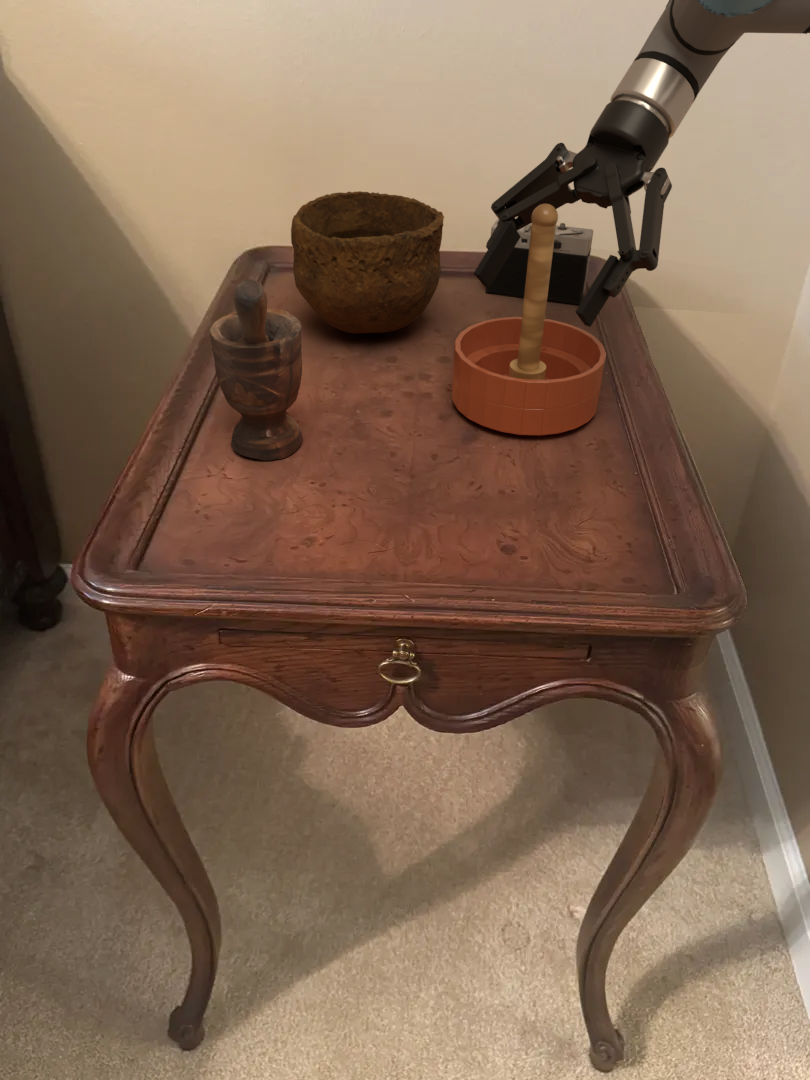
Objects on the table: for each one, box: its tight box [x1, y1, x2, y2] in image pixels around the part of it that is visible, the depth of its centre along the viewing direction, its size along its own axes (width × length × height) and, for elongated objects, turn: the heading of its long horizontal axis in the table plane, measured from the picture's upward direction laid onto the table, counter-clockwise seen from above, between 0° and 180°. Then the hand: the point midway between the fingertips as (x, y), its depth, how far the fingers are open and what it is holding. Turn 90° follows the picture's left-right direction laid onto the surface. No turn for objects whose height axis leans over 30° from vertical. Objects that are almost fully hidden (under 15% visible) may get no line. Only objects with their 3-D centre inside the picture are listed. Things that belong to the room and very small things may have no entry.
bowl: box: [290, 190, 445, 334], centre depth 111 cm, size 19×19×15 cm
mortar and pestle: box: [209, 278, 303, 462], centre depth 85 cm, size 12×9×20 cm
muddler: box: [509, 204, 559, 380], centre depth 93 cm, size 4×4×21 cm
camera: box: [485, 218, 594, 306], centre depth 124 cm, size 14×9×10 cm, turn 65°
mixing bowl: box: [451, 316, 607, 436], centre depth 98 cm, size 16×16×7 cm
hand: (529, 299), depth 92 cm, fingers open, 13 cm apart
